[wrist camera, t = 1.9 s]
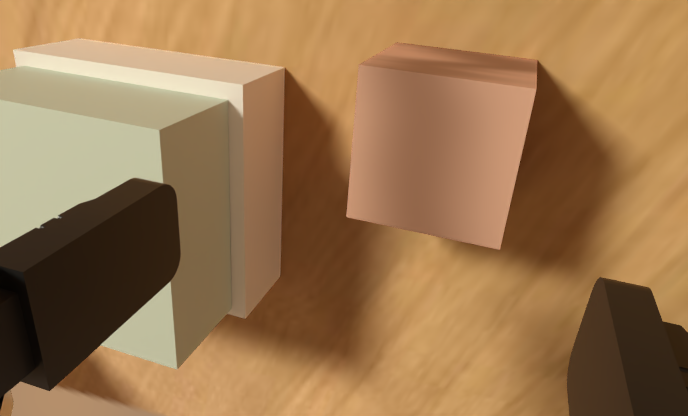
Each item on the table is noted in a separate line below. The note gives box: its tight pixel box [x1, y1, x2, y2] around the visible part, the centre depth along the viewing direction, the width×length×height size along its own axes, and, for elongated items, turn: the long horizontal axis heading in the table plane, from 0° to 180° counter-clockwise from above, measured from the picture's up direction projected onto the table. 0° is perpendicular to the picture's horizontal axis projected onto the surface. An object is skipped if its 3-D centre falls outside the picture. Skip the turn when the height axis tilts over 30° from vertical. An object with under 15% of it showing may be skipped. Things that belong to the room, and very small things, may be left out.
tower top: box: [0, 66, 232, 369], centre depth 20 cm, size 9×9×4 cm
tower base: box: [13, 38, 285, 319], centre depth 24 cm, size 10×10×4 cm
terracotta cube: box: [346, 42, 537, 250], centre depth 18 cm, size 5×5×5 cm
